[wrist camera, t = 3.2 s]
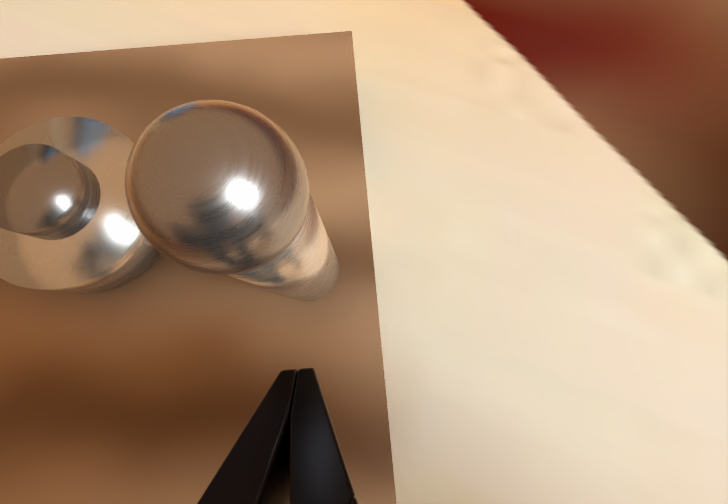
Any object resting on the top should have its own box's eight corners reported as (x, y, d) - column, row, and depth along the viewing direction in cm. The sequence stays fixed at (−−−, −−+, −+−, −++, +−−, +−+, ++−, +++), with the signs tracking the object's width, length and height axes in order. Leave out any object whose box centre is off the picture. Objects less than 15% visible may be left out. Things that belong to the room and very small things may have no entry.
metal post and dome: (318, 361, 14) (196, 463, 4) (-119, 240, 15) (-1155, 59, 5) (362, 204, 15) (358, -40, 5) (-46, 100, 16) (-753, -285, 6)
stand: (393, 487, 15) (397, 518, 13) (-98, 534, 15) (-188, 575, 13) (352, 61, 19) (351, 22, 17) (-41, 92, 19) (-102, 57, 16)
